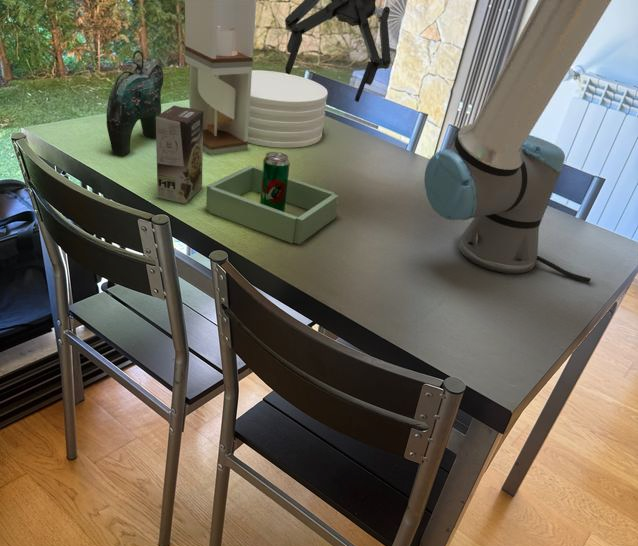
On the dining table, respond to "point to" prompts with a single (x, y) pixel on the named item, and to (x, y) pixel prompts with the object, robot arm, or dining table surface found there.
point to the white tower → (221, 69)
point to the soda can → (275, 180)
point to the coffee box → (179, 153)
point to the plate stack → (285, 110)
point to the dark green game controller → (134, 104)
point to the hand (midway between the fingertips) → (322, 85)
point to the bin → (265, 219)
